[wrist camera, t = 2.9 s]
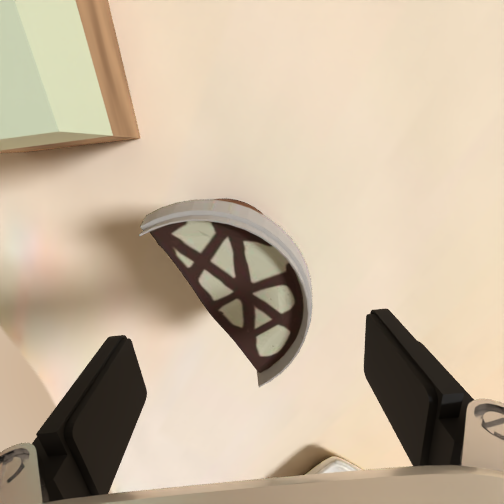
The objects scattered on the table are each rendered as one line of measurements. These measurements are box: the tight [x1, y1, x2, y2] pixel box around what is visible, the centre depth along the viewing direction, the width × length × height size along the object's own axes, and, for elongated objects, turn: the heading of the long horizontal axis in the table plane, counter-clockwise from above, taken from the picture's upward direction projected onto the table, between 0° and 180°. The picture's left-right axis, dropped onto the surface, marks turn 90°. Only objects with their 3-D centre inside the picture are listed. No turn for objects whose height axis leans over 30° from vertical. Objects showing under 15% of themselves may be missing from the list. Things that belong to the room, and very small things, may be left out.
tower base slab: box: [0, 0, 140, 153], centre depth 16 cm, size 9×15×5 cm, turn 6°
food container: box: [139, 199, 312, 387], centre depth 19 cm, size 12×6×10 cm, turn 31°
